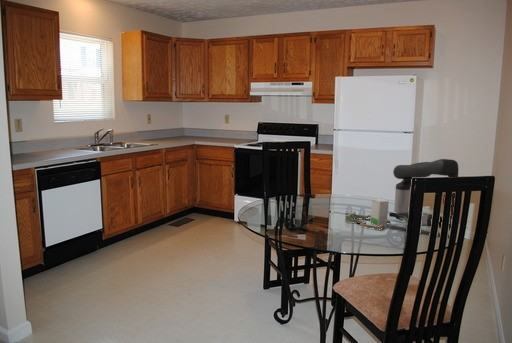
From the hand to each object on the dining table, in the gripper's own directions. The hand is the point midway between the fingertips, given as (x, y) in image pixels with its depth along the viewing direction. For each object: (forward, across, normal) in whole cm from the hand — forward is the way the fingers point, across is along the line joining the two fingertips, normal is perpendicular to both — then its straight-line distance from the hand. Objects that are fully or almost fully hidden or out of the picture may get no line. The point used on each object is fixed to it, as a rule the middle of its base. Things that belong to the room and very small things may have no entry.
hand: (389, 214), depth 243 cm
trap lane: (+12, 0, +8) cm, 14 cm away
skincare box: (+6, 0, +8) cm, 10 cm away
